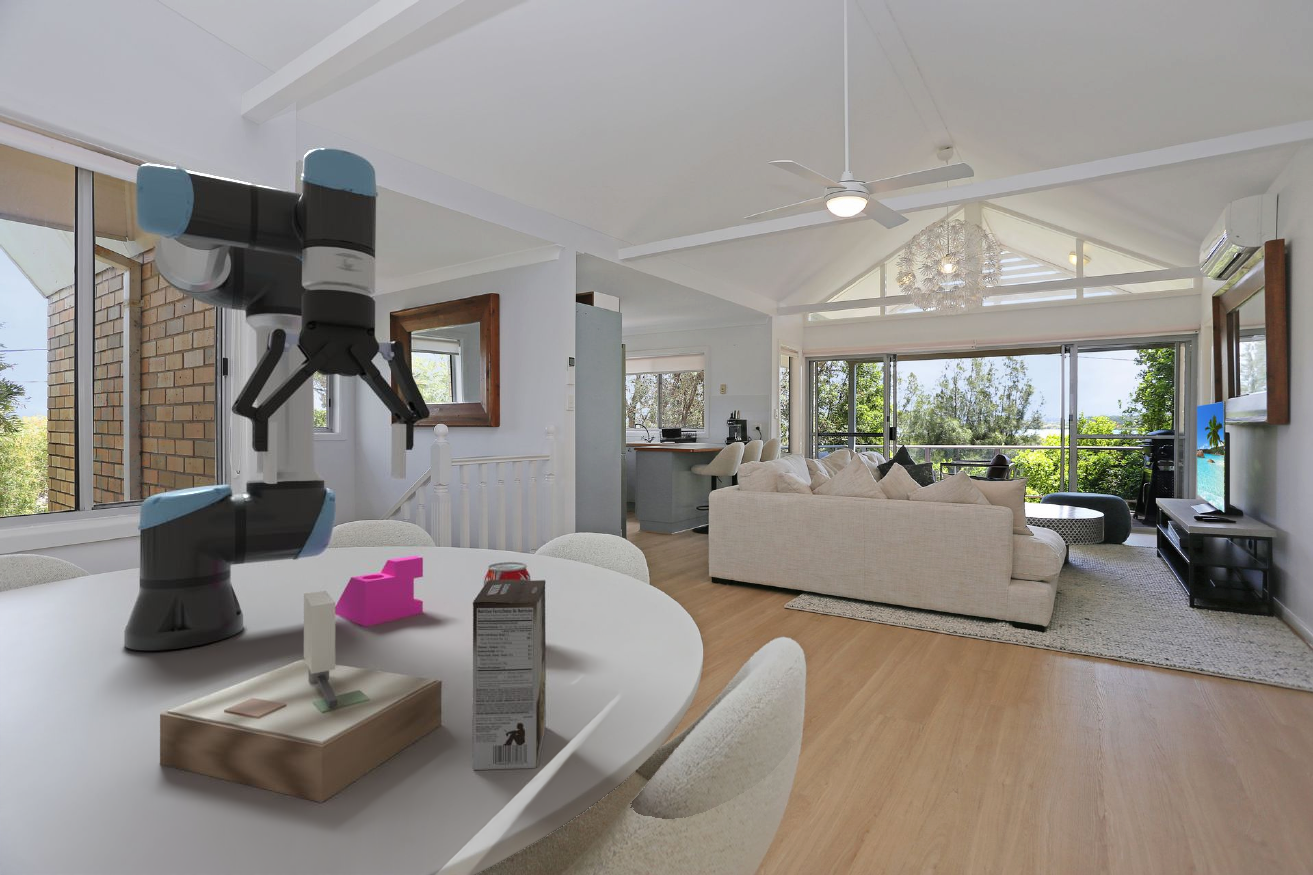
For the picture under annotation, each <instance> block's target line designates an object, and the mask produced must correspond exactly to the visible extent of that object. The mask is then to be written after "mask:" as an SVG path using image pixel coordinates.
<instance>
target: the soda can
mask: <svg viewBox="0 0 1313 875" xmlns="http://www.w3.org/2000/svg"><path fill="white" fill-rule="evenodd" d="M527 568H528V567H527V563H523V562H516V561H515V562H514V561H507V562H496V563H492V564H489V565H488V566H487V569H488V570H487V572H486V574H485V576H484V578H483V586H484V585H485V584H486V583H487V581H489V580H527V581H532V580H531V575H530V572H529V571H528V570H527Z"/></svg>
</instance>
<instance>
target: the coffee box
mask: <svg viewBox="0 0 1313 875" xmlns="http://www.w3.org/2000/svg"><path fill="white" fill-rule="evenodd" d="M546 643H547V642H546V579H541V580H538V579H537V580H531V581H527V580H489V581H487V583H486V584H485V585H484V584H483V587H482V588H481V590H480V591H479V593H478V594H477V596H476V597H475V598H474V600H473V602H472V770H473V771H485V770H488V771H490V770H513V769H514V770H515V769H518V770H519V769H536V768H538V767H539V763H540V759H541V752H542V747H543V742H544V738H545V737H544V736H545V732H546V731H545V730H546V725H547V714H546V713H547V712H546V711H547V710H546V709H547V708H546V707H547V706H546V705H547V704H546V701H547V700H546V699H547V697H546V694H547V693H546V689H547V688H546V684H547V682H546V681H547V680H546V679H547V676H546V674H547V673H546V671H547V669H546V664H547V663H546V656H547V655H546V649H547V648H546Z"/></svg>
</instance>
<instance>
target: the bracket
mask: <svg viewBox="0 0 1313 875" xmlns="http://www.w3.org/2000/svg"><path fill="white" fill-rule="evenodd" d="M423 577H424V557H422V556H418V555H413V556H405V557H398V558H391V559H387V561H386V562H385V564H384V566H383V568H382V569H381V571H380V572H376V573H369V574H364V575H363V574H362V575H358V576H352V577H350V579H349V581H348V582H347V583H346V584H347V585H346V586H345V587H344V590H343V591H342V594H341V595H340V597H339V599H338V601H337V603H336V604H335V615H337V616H340V617H342V618H344V619H346V620H349V621H351V622H354V623H356V624H359V625H360V626H363V627H370V626H374V625H378V624H382V623H385V622H390V621H394V620H398V619H404V618H406V617H411V616H414V615H418V614H422V613H424V610H423V609H424V608H423V606H424V603H423V602H424V601H423V600H421V599H418V598H415V590H414V589H415V587H414V586H415V583H414V581H415V579H418V578H423Z"/></svg>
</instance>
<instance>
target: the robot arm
mask: <svg viewBox="0 0 1313 875" xmlns="http://www.w3.org/2000/svg"><path fill="white" fill-rule="evenodd" d="M302 161H303V162H302V173H301V175H300V180H301V182H302V185H301V186H302V188H301V189H302V190H301V193H299V192H295V191H294V192H293V191H290V190H285V189H280V188H275V187H271V186H265V185H260V184H253V183H250V182H246V181H240V180H235V179H231V178H226V177H222V176H216V175H212V174H208V173H203V172H198V171H193V170H189V169H185V168H182V167H180V166H168V165H167V166H166V165H161V164H152V163H144V164H141V165H140V166H139V167H138V168H137V171H136V181H135V182H136V187H135V188H136V190H135V192H136V199H135V200H136V221H137V225H138V228H139V229H141V231H143V232H145V233H147V234H153V235H156V236H160V238H159V239H157V242H156V244H155V247H154V250H153V260H154V265H155V268H156V270H157V272H158V273H159V275H160V276H161V278H163V280H164V282H166V283H167V284H168V285H169V286H171V287H172V288H173V289H175V290H176V291H178V292H179V293H181V294H183V295H184V296H187V297H188V298H191V299H193V300H195V301H198V302H201V303H203V304H206V305H209V306H213V307H216V308H217V307H218V308H220V309H221V308H222V309H229V310H237V311H245V322H246V324H247V325H249V326H250V327H251V328H252V329H253V330H254V331H255V335H256V336H255V337H256V338H255V340H256V342H255V343H256V344H255V345H256V352H255V353H256V366H255V368H254V370H253V372H251V373H252V374H251V375H250V376H249V378H248V380H247V381H246V383H245V385H244V387H243V388H242V390H241V392H240V393H239V394H238V396H237V398H236V400H235V402H234V403H233V405H232V406H231V412H232V413H233V415H234V414H235V415H237V416H241V417H243V418H247V419H249V420H250V422H251V423H252V425H251V426H252V428H251V430H252V431H251V435H252V436H251V437H252V438H251V441H252V442H251V446H252V449H253V451H254V452H256V472H255V473H254V474H253V475H252V476H251V477H249V479H247V480H246V486H245V487H246V488H245V489H246V490H245V492H235V493H233V489H232V488H231V486H230V485H229V484H216V485H215V484H214V485H206V486H198V487H190V488H184V489H183V488H182V489H177V490H172V491H165V492H161V493H158V494H157V493H156V494H153V495H151V496H149V497H147V498H146V499H145V500H143V502H142V503H141V505H140V515H139V516H140V518H139V524H138V526H137V529H138V530H139V532H140V533H139V540H140V542H139V587H138V588H139V591H138V594H137V598H136V601H135V602H134V605H133V607H132V610H131V613H130V615H129V618H128V622H127V625H126V626H125V628H124V634H123V635H124V643H123V645H124V647H125V648H127V649H131V650H136V651H166V650H175V649H183V648H189V647H195V646H196V647H197V646H201V645H206V644H210V643H213V642H217V641H222V640H224V639H227V638H230V637H233V636H234V635H237V634H238V633H240V632H241V631H242V630H243V629H244V613H243V611H242V608H241V605H240V603H239V601H238V600H239V599H238V597H237V595H236V592H235V590H234V587H233V585H232V581H231V580H232V577H231V574H232V573H231V572H232V570H231V569H232V568H231V567H232V565H240V564H241V565H242V564H253V563H265V562H274V561H275V562H276V561H286V560H294V561H295V560H296V561H297V560H299V559H302V558H310V557H311V558H312V557H317V556H319V555H321V554H323V553H324V552H325V551H326V549H327V548H328V546H329V544H330V542H331V538H332V535H333V529H334V526H335V520H336V494H335V492H334V490H333V489H330V488H328V487H327V488H325V478H324V477H323V476H322V475H321V474H320V473H318V471H316V469H315V415H314V414H315V412H314V411H315V407H314V406H315V403H314V402H315V401H314V399H315V398H314V393H315V392H314V374H315V373H316V372H317V373H319V374H321V376H333V375H338V376H341V377H348V378H349V377H350V378H351V377H356V376H359V377H360V379H361V380H362V381H364V382H365V383H366V384H367V385H368V386H369V388H370V389H371V390H372V392H374V394H375V395H376V396H377V397H378V399H380V401H381V402H382V403H383V404H384V406H386V408H387V409H388V410H389V411H390V413H391V414H392V415H393V416H394V417H395V419H396V420H397V421H398V423H391V458H390V459H391V460H390V463H391V466H390V467H391V468H390V470H391V472H390V475H391V478H395V479H406V477H407V451H412V450H413V448H414V437H415V436H414V426H415V424H416V423H417V422H419V421H421V420H425V419H427V418H429V417H430V412H431V411H430V410H429V407H428V406H427V403H426V402H425V399H424V397H423V395H422V393H421V391H420V389H419V386H418V385H417V382H416V381H415V378H414V377H413V375H412V372H411V370H410V368H409V366H408V363H407V361H406V358H405V350H404V349H405V348H404V344H403V342H402V341H400V340H395V341H390V342H378V341H377V338H376V300H374V298H373V297H372V295H374V294H375V293H376V243H377V242H376V241H377V240H376V235H377V234H376V233H377V232H376V231H377V230H376V229H377V197H378V196H379V195H378V194H379V192H378V191H377V181H376V179H377V178H376V170H375V168H374V166H373V165H372V164H371V162H370V161H369V160H367V159H366V158H364V157H363V156H361V155H359V154H356V153H353V152H351V151H348V150H347V151H346V150H342V149H339V148H337V149H336V148H325V147H324V148H323V147H322V148H315V149H312V150H311V149H310V150H309V151H308V152H307V153H305V154H304V157H303V160H302ZM378 353H379V354H381V356H382V359H383V360H385V361H387V364H388V366H389V370H390V371H391V373H392V375H393V377H394V380H395V381H396V383H397V386H398V388H399V391H400V392H401V395H402V396H403V398H404V400H405V402H406V403H404V401H403V400H402V399H401V398H400V397H399V394H398V393H396V391H395V390H394V389H393V388H392V386H391V385H390V384H389V383H388V381H387V380H386V379H385V377H383V375H382V374H381V371H380V370H379V368H378V367H377V365H375V363H374V362H373V360H374V358H375V357H376V356H377V354H378ZM255 402H256V407H255V406H253V405H254V403H255ZM406 404H407V405H406ZM138 530H137V531H138Z"/></svg>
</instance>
